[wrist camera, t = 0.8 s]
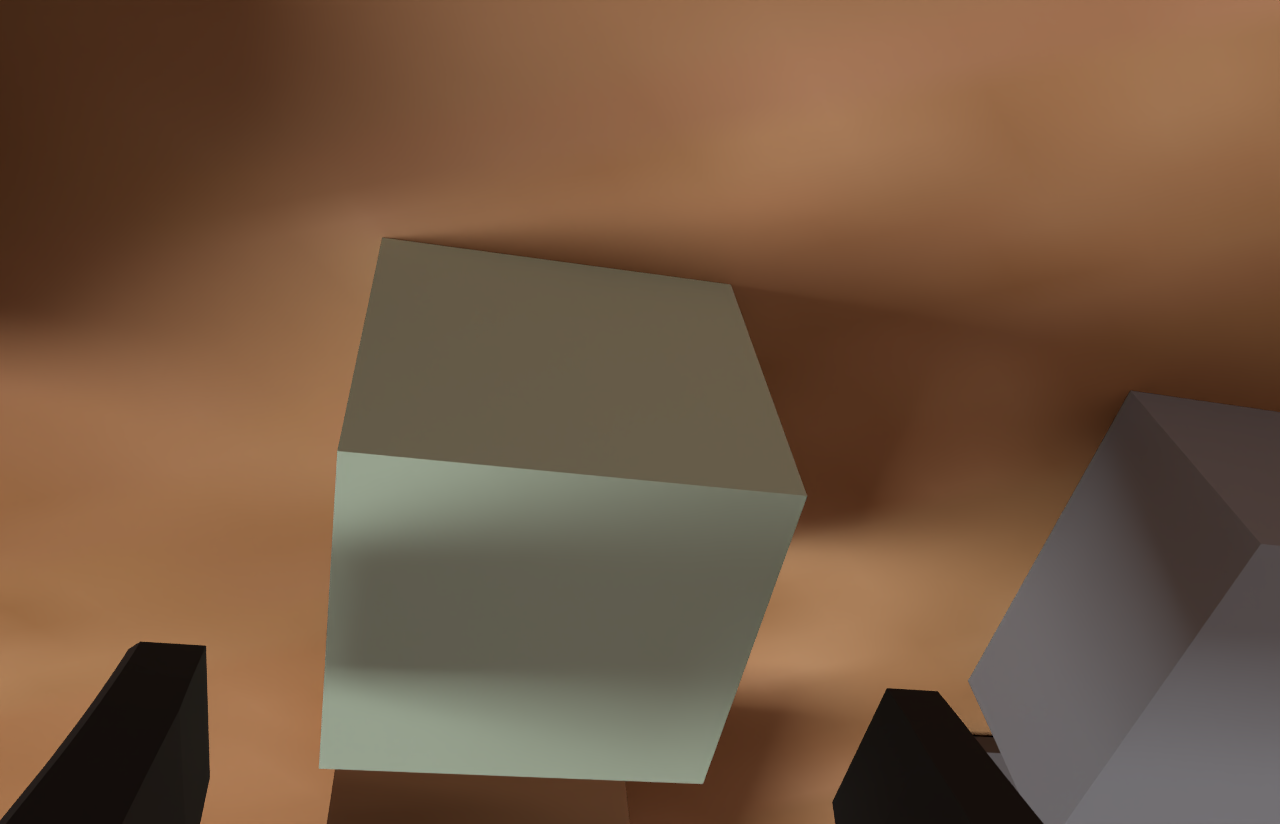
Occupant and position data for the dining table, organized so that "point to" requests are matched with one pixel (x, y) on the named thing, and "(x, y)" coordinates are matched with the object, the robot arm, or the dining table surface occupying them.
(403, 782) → the walnut block
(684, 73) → the dining table surface
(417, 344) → the sage block
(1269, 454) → the slate base
